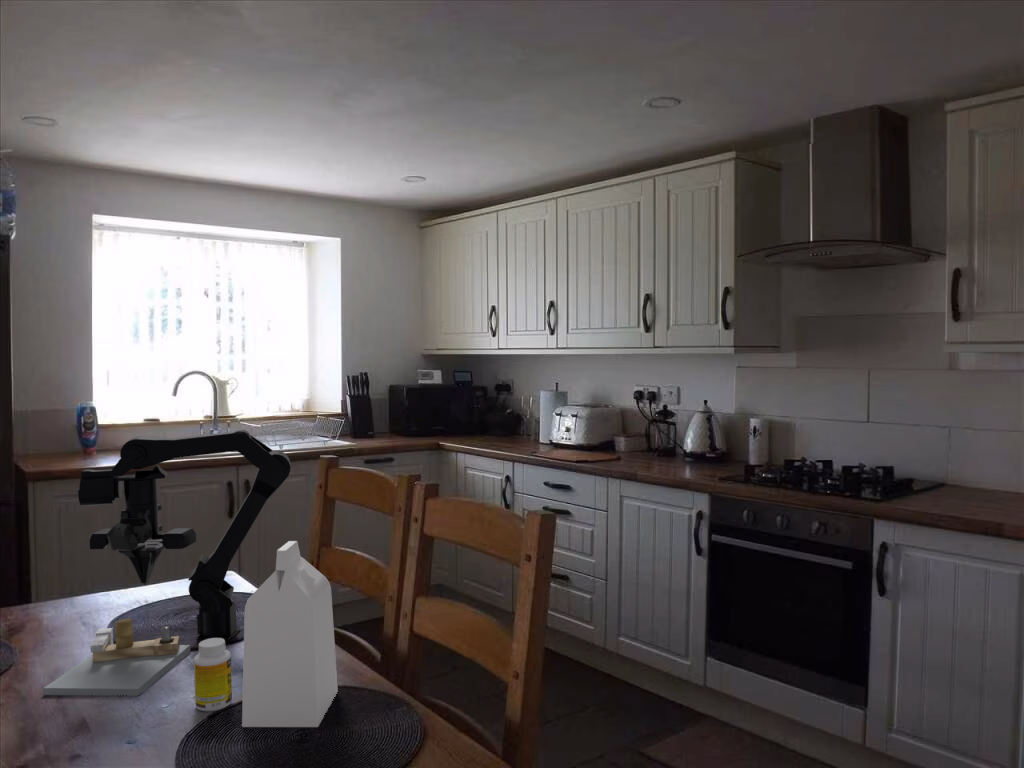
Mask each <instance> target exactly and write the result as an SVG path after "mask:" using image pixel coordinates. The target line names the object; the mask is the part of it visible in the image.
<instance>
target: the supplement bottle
mask: <svg viewBox="0 0 1024 768" xmlns="http://www.w3.org/2000/svg"><path fill="white" fill-rule="evenodd" d="M193 678H194V679H193V682H194V683H193V684H194V704H195V708H196V709H197V710H199V711H201V712H215V711H219V710H222V709H224V708H226V707H228V706H230V704H231V703H232V700H233V687H232V686H233V685H232V683H233V681H232V655H231V652H230V651H229V650H227V649H226V641H225V640H224V639H222V638H210V639H206V640H203V641H199V643H198V653H197V654H196V655H195V656H194V658H193Z"/></svg>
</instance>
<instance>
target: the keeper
mask: <svg viewBox="0 0 1024 768" xmlns="http://www.w3.org/2000/svg"><path fill="white" fill-rule="evenodd" d="M113 630H114V628H113V627H107V628H99V629H97V631H96V633H95V638H94V640H93V641H92V643H91V645H90V653H92V654H93V652H100V651H104V649H105V647H106V645H112V644H114V631H113Z"/></svg>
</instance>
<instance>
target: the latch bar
mask: <svg viewBox="0 0 1024 768" xmlns="http://www.w3.org/2000/svg"><path fill="white" fill-rule="evenodd" d="M114 623H115V643H113V644H112V645H106V647H105V649H104V651H100V652H92V655H93V662H100V661H108V660H116V659H125V658H133V657H142V656H150V655H154V656H158V655H166V654H175V653H178V650H179V646H180V645H181V641H180V635H177V636H175V635H174V636H171V643H164V644H162V637H158V638H155V639H149V640H140V641H134V628H133V627H134V626H133V619H132V618H122V619H119V620H117V621H115V622H114Z"/></svg>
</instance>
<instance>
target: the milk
mask: <svg viewBox="0 0 1024 768" xmlns="http://www.w3.org/2000/svg"><path fill="white" fill-rule="evenodd" d="M331 586H332V585H331V584H330V582H329V580H328V579H327V577H326V576H325V575H324V574H323V573H321V572H320V571H319V570H318V569H317V568H315V566H313V565H312V564H311V563H309V561H307V560H306V559H305V558H304V557H302V556H301V551H300V547H299V544H298V540H288V541H287V542H286V543H284V544H283V545H282V546H281V547H279V548H277V550H276V561H275V570H274V572H272V574H271V575H270V576H269V577H268V578H267V579H266V580H265V581H264V582H263V583H262V584H261V585H260V586H259V587H258V588H257V589H256V590H255V591H254V592H253V593H252V594H251V595H250V596H249V598H248V599H247V601H246V602H245V605H244V613H243V614H244V616H243V617H244V618H243V619H244V621H243V624H244V625H243V663H242V665H243V666H242V669H243V670H242V672H243V673H242V704H241V705H242V706H241V707H242V711H241V713H242V715H241V716H242V717H241V722H242V723H241V728H318V727H319V726H320V724H321V722H322V720H323V719H324V717H325V716H324V715H326V714H325V713H327V712H328V710H329V709H328V708H330V706H331V705H332V703H333V702H334V700H335V698H334V697H336V696H337V695H336V694H338V693H337V692H339V691H338V690H339V689H338V674H337V658H336V657H337V655H336V644H335V643H336V641H335V630H334V629H335V627H334V614H333V613H334V612H333V600H332V599H333V597H332V587H331ZM333 699H334V700H333ZM332 701H333V702H332Z"/></svg>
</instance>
